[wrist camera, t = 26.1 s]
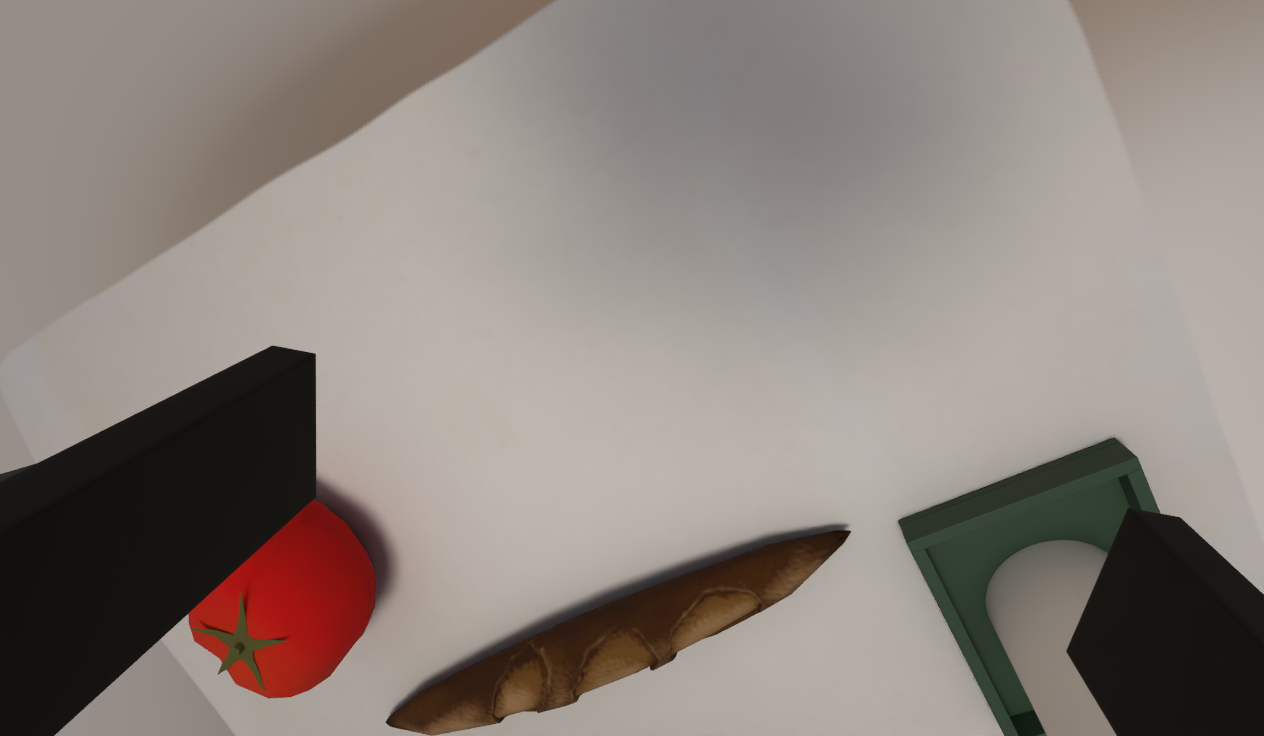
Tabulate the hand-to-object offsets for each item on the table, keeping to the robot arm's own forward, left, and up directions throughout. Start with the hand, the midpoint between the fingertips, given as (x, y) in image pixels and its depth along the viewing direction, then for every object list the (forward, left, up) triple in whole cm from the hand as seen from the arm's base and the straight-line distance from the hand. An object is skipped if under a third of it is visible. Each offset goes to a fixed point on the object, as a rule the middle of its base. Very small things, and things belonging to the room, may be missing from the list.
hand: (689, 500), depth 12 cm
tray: (+7, +30, -32) cm, 44 cm away
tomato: (+35, -10, -32) cm, 48 cm away
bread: (+28, +9, -32) cm, 43 cm away
